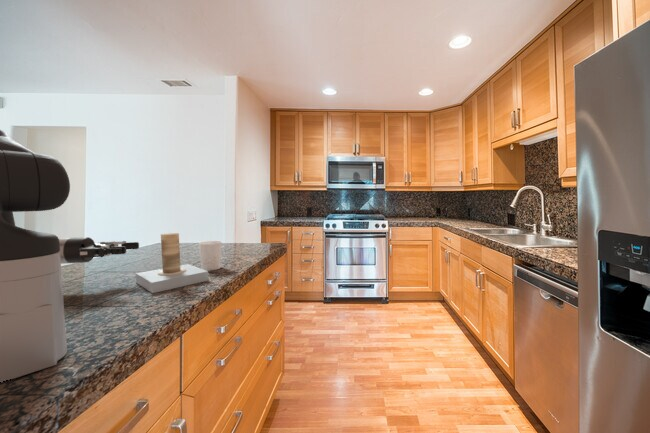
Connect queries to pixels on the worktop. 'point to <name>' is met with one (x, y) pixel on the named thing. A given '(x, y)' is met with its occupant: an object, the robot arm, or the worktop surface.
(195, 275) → the light grey plinth
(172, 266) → the maple pillar
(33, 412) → the worktop surface
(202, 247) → the white cup
